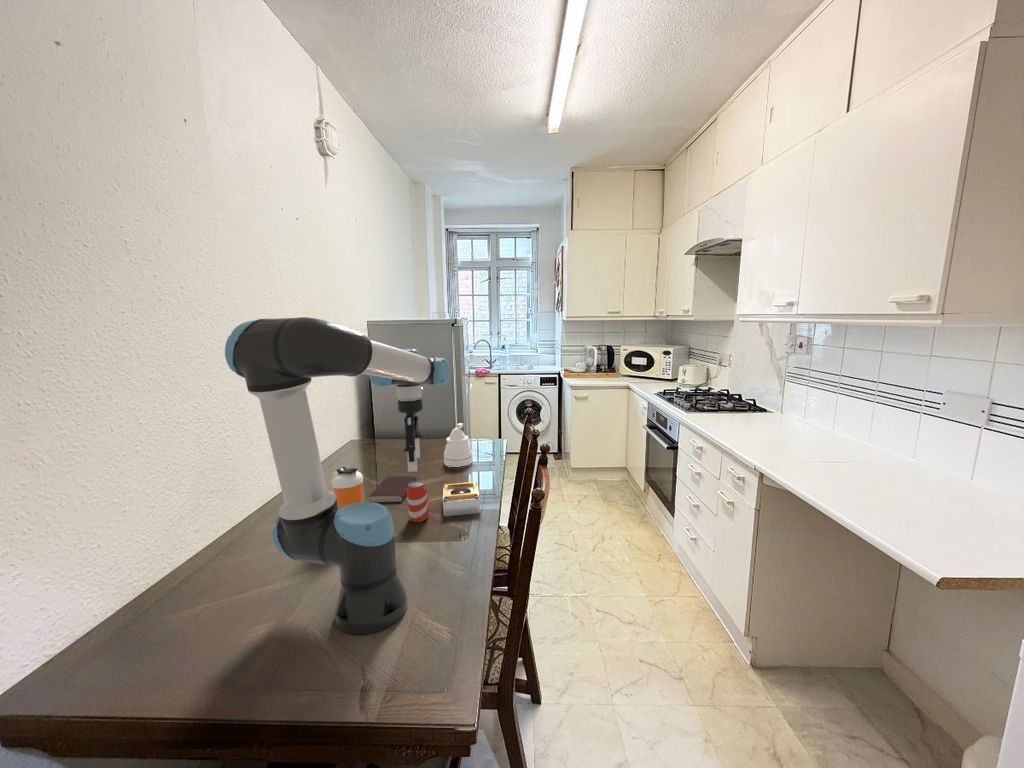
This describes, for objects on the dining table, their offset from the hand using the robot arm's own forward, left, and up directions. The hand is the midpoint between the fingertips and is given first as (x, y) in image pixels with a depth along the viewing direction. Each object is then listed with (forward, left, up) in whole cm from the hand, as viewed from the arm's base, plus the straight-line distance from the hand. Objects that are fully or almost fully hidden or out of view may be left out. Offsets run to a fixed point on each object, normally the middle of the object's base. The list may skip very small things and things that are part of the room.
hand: (414, 464), depth 135 cm
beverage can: (0, 0, -19) cm, 19 cm away
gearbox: (+7, -14, -18) cm, 24 cm away
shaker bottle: (-4, +20, -19) cm, 28 cm away
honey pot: (+54, -14, -19) cm, 59 cm away
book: (+26, +11, -19) cm, 34 cm away
